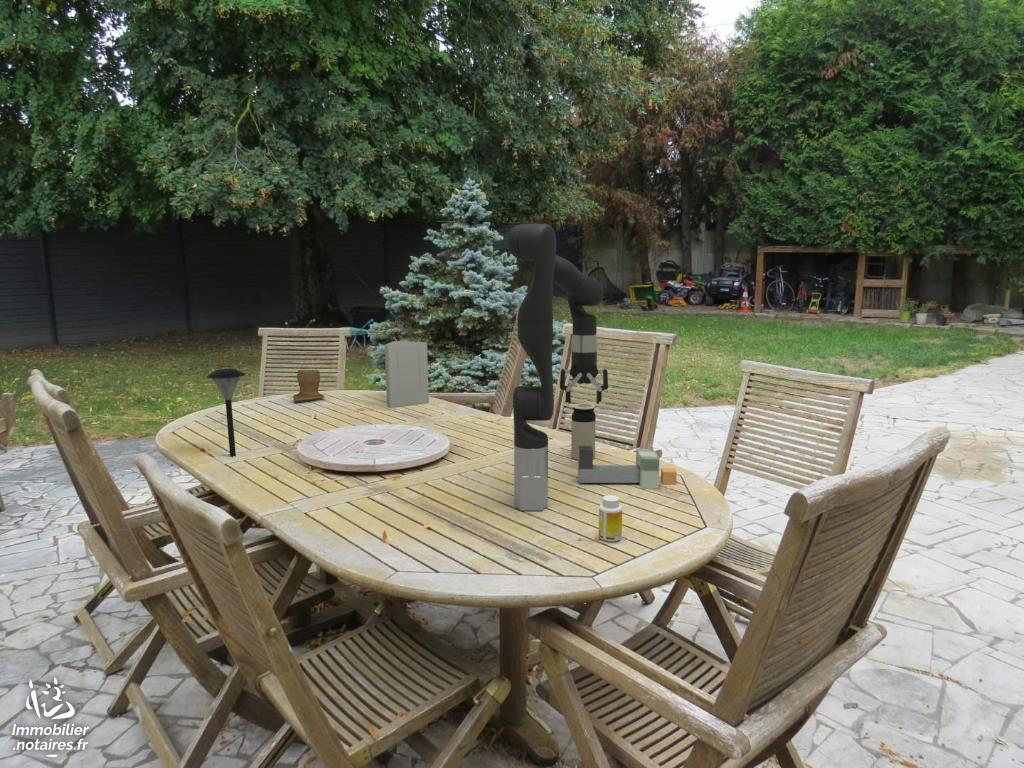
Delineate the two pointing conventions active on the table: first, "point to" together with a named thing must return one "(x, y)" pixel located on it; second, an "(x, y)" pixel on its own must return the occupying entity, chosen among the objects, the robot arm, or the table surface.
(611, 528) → the supplement bottle
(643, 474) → the bearing bridge
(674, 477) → the block
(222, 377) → the solar garden light
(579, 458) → the grey l-shaped bracket
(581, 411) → the travel mug
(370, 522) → the table surface
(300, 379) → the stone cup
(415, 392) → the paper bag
